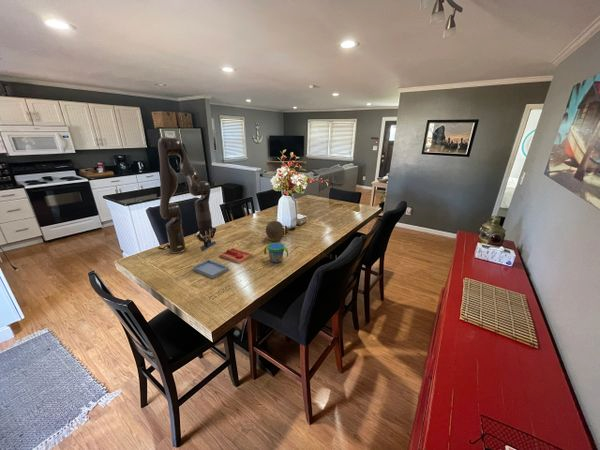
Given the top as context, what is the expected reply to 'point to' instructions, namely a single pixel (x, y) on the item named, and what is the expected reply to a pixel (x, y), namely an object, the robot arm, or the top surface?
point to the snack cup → (276, 251)
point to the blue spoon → (207, 245)
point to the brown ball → (275, 231)
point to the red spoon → (235, 254)
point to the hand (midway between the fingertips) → (207, 246)
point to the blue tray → (210, 268)
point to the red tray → (233, 258)
